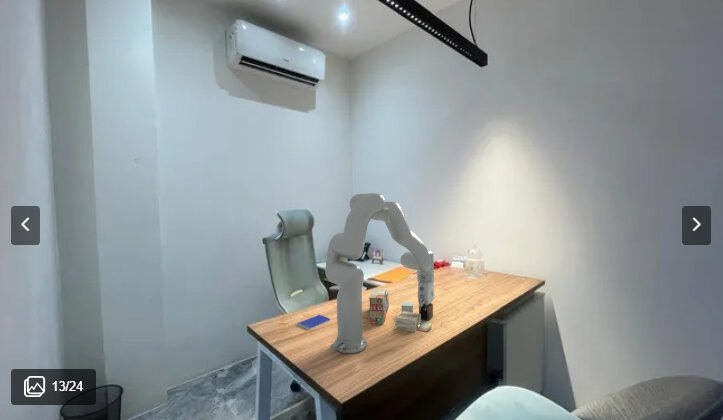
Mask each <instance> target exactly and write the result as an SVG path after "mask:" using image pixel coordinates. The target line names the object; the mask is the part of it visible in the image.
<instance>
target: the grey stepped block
mask: <svg viewBox="0 0 723 420" xmlns="http://www.w3.org/2000/svg"><path fill="white" fill-rule="evenodd" d="M421 321H422V319H421V314H419V313H417V312H416V313H415V312H413V313H411V312H405V311H403V312H402V311H401V313H399V315H398V316H397V317H396V329H397V330H401V331H402V330H403V331H408V332H412V333H416V332H417V330H419V328H418V325H419V324H420V323H421ZM421 324H422V323H421Z"/></svg>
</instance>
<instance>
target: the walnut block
mask: <svg viewBox="0 0 723 420" xmlns="http://www.w3.org/2000/svg"><path fill="white" fill-rule="evenodd" d="M423 303H425V302H423ZM431 303H432V302H431ZM431 303H430V304H429V305H427V319H423V318H421V320H426V321H430V320H432V318H434V304H433V303H432V304H431ZM423 306H424V307H425V305H423ZM418 314H420V307H419V306H418Z"/></svg>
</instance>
